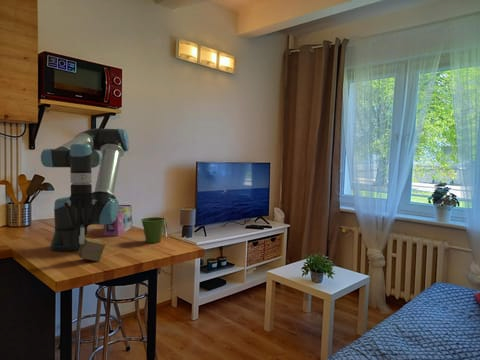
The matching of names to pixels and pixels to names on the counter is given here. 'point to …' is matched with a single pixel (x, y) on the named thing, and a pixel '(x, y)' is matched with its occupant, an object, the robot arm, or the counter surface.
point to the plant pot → (153, 228)
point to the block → (91, 249)
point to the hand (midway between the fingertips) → (81, 243)
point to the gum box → (120, 222)
